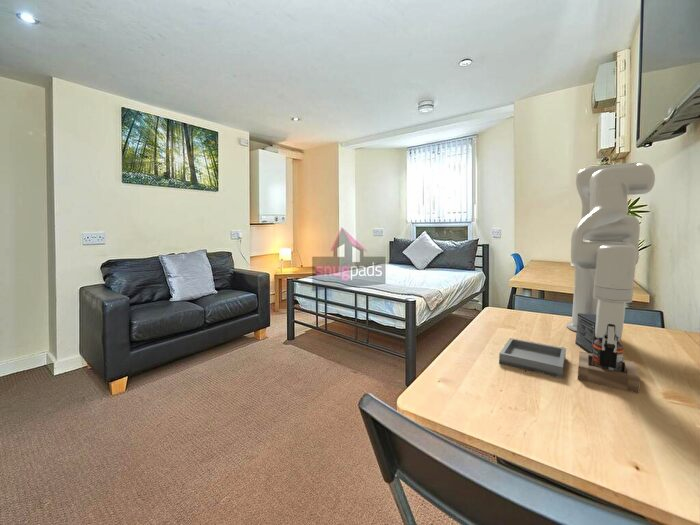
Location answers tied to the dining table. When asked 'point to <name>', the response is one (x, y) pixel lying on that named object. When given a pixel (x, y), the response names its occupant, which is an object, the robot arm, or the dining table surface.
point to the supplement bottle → (596, 355)
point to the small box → (586, 331)
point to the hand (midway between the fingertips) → (606, 360)
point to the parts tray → (533, 357)
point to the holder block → (609, 374)
